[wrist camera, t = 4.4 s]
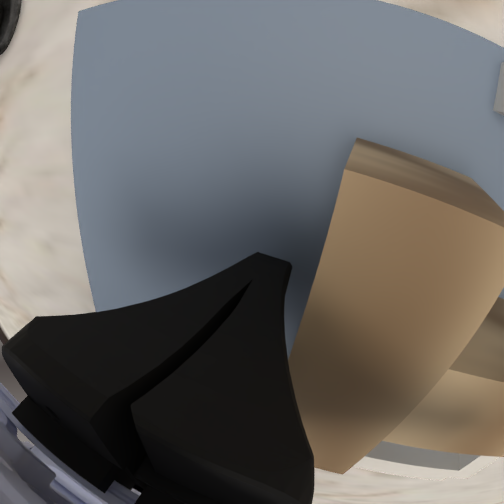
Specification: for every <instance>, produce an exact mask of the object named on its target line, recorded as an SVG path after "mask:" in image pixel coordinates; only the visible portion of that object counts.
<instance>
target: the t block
mask: <svg viewBox="0 0 504 504" xmlns="http://www.w3.org/2000/svg"><path fill="white" fill-rule="evenodd" d="M503 288H504V211H503V210H502V209H501V207H500V206H499V205H498V204H497V203H496V202H495V201H494V200H493V199H492V198H491V197H490V196H489V195H488V194H487V193H486V192H485V191H484V190H483V189H482V188H481V187H480V186H479V185H478V184H477V183H476V182H475V181H474V180H473V179H472V178H470V177H468V176H465V175H463V174H461V173H458V172H456V171H453V170H451V169H448V168H446V167H443V166H441V165H438V164H436V163H433V162H430V161H428V160H425V159H422V158H419V157H417V156H414V155H411V154H408V153H405V152H402V151H399V150H396V149H393V148H390V147H387V146H384V145H380V144H377V143H374V142H371V141H367V140H364V139H360V138H356V141H355V143H354V146H353V149H352V151H351V154H350V156H349V159H348V161H347V164H346V166H345V169H344V172H343V176H342V180H341V185H340V189H339V192H338V196H337V200H336V204H335V208H334V212H333V216H332V219H331V223H330V227H329V230H328V234H327V237H326V241H325V245H324V248H323V252H322V255H321V259H320V262H319V265H318V269H317V272H316V275H315V279H314V282H313V285H312V289H311V292H310V295H309V298H308V301H307V305H306V308H305V311H304V314H303V317H302V320H301V323H300V326H299V329H298V332H297V335H296V338H295V341H294V344H293V347H292V350H291V353H290V356H289V358H288V363H289V370H290V375H291V379H292V384H293V388H294V393H295V397H296V402H297V405H298V409H299V412H300V416H301V419H302V423H303V426H304V429H305V432H306V435H307V438H308V441H309V444H310V447H311V449H312V452H313V455H314V467H315V468H319V469H323V470H327V471H331V472H335V473H339V474H344V473H345V472H346V471H348V470H349V469H350V468H351V467H352V466H354V465H355V464H356V463H357V462H359V461H360V460H361V459H362V458H363V457H364V456H366V455H367V454H368V453H369V452H370V451H371V450H372V449H374V448H375V447H376V446H377V445H378V444H379V443H380V442H381V441H386V442H390V443H395V444H400V445H406V446H411V447H417V448H423V449H429V450H436V451H443V452H450V453H459V454H469V455H480V456H495V457H504V299H502V298H500V297H498V296H499V295H500V293H501V291H502V289H503Z"/></svg>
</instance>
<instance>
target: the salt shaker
mask: <svg viewBox="0 0 504 504" xmlns="http://www.w3.org/2000/svg"><path fill="white" fill-rule="evenodd" d="M20 6H21V0H0V54H2V53H3V52H4V51H5V49H6V48H7V47H8V45H9V43H10V41H11V39H12V36H13V34H14V31H15V28H16V25H17V22H18V17H19V13H20Z"/></svg>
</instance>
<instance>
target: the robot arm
mask: <svg viewBox="0 0 504 504" xmlns="http://www.w3.org/2000/svg"><path fill="white" fill-rule="evenodd" d="M291 270H292V265H291V263H290V262H288V261H285V260H282V259H279V258H275V257H272V256H269V255H266V254H263V253H260V252H256V253H254V254H252V255H250V256H248V257H247V258H245V259H243V260H241V261H239V262H237V263H236V264H234V265H232V266H230V267H228V268H226V269H225V270H223V271H221V272H219V273H217V274H215V275H213V276H211V277H209V278H207V279H205V280H202V281H200V282H198V283H196V284H193V285H191V286H189V287H187V288H184V289H182V290H179V291H177V292H174V293H171V294H168V295H165V296H162V297H159V298H156V299H153V300H149V301H146V302H142V303H138V304H134V305H129V306H125V307H121V308H117V309H112V310H106V311H100V312H93V313H86V314H77V315H63V316H41V317H35V318H34V319H33V320H32V321H31V322H29V323H28V324H27V325H26V326H25V327H23V328H22V329H21V330H20V331H19V332H18V333H17V334H15V335H14V336H13V337H12V338H11V339H10V340H9V341H8V342H6V343H5V344H4V345H3V346H2V355H3V357H4V360H5V362H6V363H7V365H8V367H9V368H10V370H11V371H12V373H13V374H14V376H15V378H16V379H17V381H18V382H19V384H20V385H21V386H22V388H23V389H24V391H25V392H26V394H27V395H28V396H27V397H26V398H25V399H24V400H23V401H22V402H21V403H19V402H18V401H17V400H16V399H15V398H14V397H13V396H12V395H11V393H10V392H9V391H8V390H7V389H6V388H5V387H4V386H3V385H2V384H1V382H0V504H312V499H313V493H314V455H313V452H312V449H311V447H310V444H309V441H308V438H307V435H306V432H305V429H304V426H303V423H302V419H301V416H300V412H299V409H298V405H297V402H296V397H295V393H294V388H293V384H292V379H291V375H290V370H289V363H288V357H287V349H286V339H285V322H284V305H285V294H286V290H287V286H288V282H289V278H290V274H291ZM16 427H17V428H18V429H19V430H20V431H21V432H22V433H23V434H24V435H25V436H26V437H27V438H28V439H29V440H30V441H31V442H32V443H33V444H34V446H33V445H32V444H31V443H30V442H21V441H20V440H19V439H18V438H17V428H16Z"/></svg>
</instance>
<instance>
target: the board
mask: <svg viewBox="0 0 504 504" xmlns="http://www.w3.org/2000/svg"><path fill="white" fill-rule="evenodd" d="M502 62H504V48H503V47H501V46H499V45H497V44H495V43H493V42H491V41H489V40H487V39H485V38H483V37H481V36H479V35H477V34H474V33H472V32H470V31H468V30H465V29H463V28H461V27H458V26H456V25H453V24H451V23H448V22H446V21H443V20H440V19H438V18H435V17H432V16H429V15H426V14H423V13H420V12H417V11H414V10H411V9H407V8H404V7H401V6H397V5H393V4H390V3H386V2H382V1H378V0H118V1H114V2H110V3H106V4H102V5H98V6H95V7H91V8H88V9H85V10H81V11H79V12H78V19H77V26H76V35H75V44H74V55H73V68H72V89H71V138H72V160H73V174H74V186H75V196H76V205H77V213H78V220H79V227H80V234H81V240H82V247H83V252H84V258H85V263H86V268H87V273H88V278H89V283H90V288H91V292H92V296H93V301H94V305H95V309H96V312H100V311H106V310H112V309H117V308H121V307H125V306H129V305H134V304H138V303H142V302H146V301H149V300H153V299H156V298H159V297H162V296H165V295H168V294H171V293H174V292H177V291H179V290H182V289H184V288H187V287H189V286H191V285H193V284H196V283H198V282H200V281H202V280H205V279H207V278H209V277H211V276H213V275H215V274H217V273H219V272H221V271H223V270H225V269H226V268H228V267H230V266H232V265H234V264H236V263H237V262H239V261H241V260H243V259H245V258H247V257H248V256H250V255H252V254H254V253H256V252H260V253H263V254H266V255H269V256H272V257H275V258H279V259H282V260H285V261H288V262H290V263H291V265H292V270H291V274H290V278H289V282H288V286H287V290H286V294H285V305H284V322H285V339H286V349H287V357H288V358H289V356H290V353H291V350H292V347H293V344H294V341H295V338H296V335H297V332H298V329H299V326H300V323H301V320H302V317H303V314H304V311H305V308H306V305H307V301H308V298H309V295H310V292H311V289H312V285H313V282H314V279H315V275H316V272H317V269H318V265H319V262H320V259H321V255H322V252H323V248H324V245H325V241H326V237H327V234H328V230H329V227H330V223H331V219H332V216H333V212H334V208H335V204H336V200H337V196H338V192H339V189H340V185H341V180H342V176H343V172H344V169H345V166H346V164H347V161H348V159H349V156H350V154H351V151H352V149H353V146H354V143H355V141H356V138H360V139H364V140H367V141H371V142H374V143H377V144H380V145H384V146H387V147H390V148H393V149H396V150H399V151H402V152H405V153H408V154H411V155H414V156H417V157H419V158H422V159H425V160H428V161H430V162H433V163H436V164H438V165H441V166H443V167H446V168H448V169H451V170H453V171H456V172H458V173H461V174H463V175H465V176H468V177H470V178H472V179H473V180H474V181H475V182H476V183H477V184H478V185H479V186H480V187H481V188H482V189H483V190H484V191H485V192H486V193H487V194H488V195H489V196H490V197H491V198H492V199H493V200H494V201H495V202H496V203H497V204H498V205H499V206H500V207H501V209H502V210H503V211H504V116H503V115H501V114H499V113H497V112H495V111H493V108H494V103H495V98H496V92H497V87H498V81H499V75H500V68H501V63H502ZM498 297H500V298H502V299H504V288H503V289H502V291H501V293H500V295H499V296H498Z"/></svg>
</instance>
